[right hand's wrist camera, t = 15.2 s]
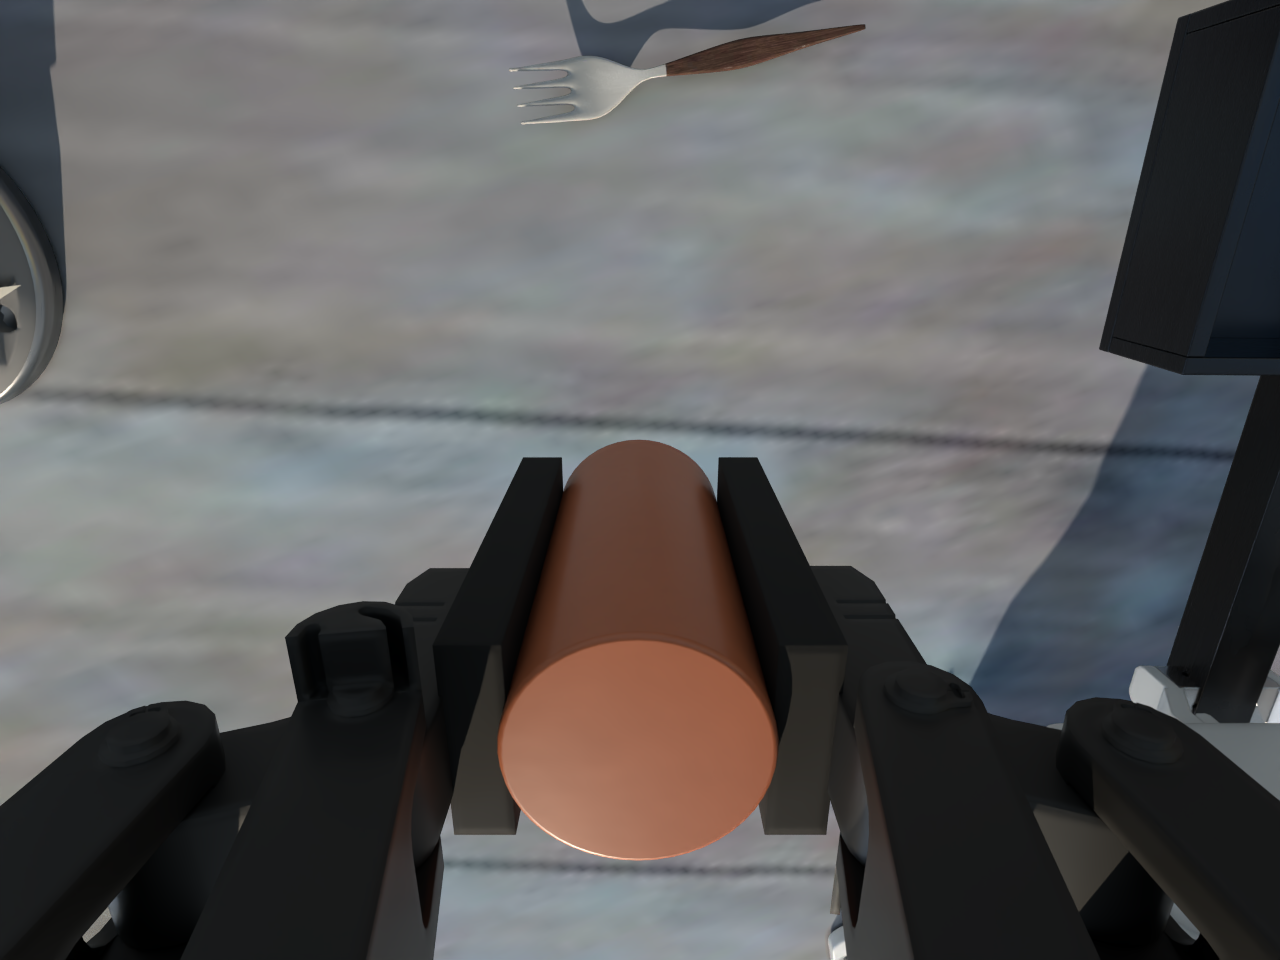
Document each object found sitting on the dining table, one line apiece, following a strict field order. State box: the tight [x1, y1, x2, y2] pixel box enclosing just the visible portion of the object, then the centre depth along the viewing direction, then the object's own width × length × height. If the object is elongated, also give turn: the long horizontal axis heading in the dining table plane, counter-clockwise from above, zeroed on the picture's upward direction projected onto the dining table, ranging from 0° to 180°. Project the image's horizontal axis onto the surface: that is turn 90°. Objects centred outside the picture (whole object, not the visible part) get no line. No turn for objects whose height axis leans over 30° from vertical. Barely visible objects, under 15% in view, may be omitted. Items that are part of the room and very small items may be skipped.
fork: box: [509, 24, 865, 124], centre depth 32 cm, size 3×16×2 cm, turn 101°
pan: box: [1099, 0, 1280, 723], centre depth 27 cm, size 29×11×5 cm, turn 179°
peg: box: [497, 440, 779, 860], centre depth 11 cm, size 3×3×7 cm
